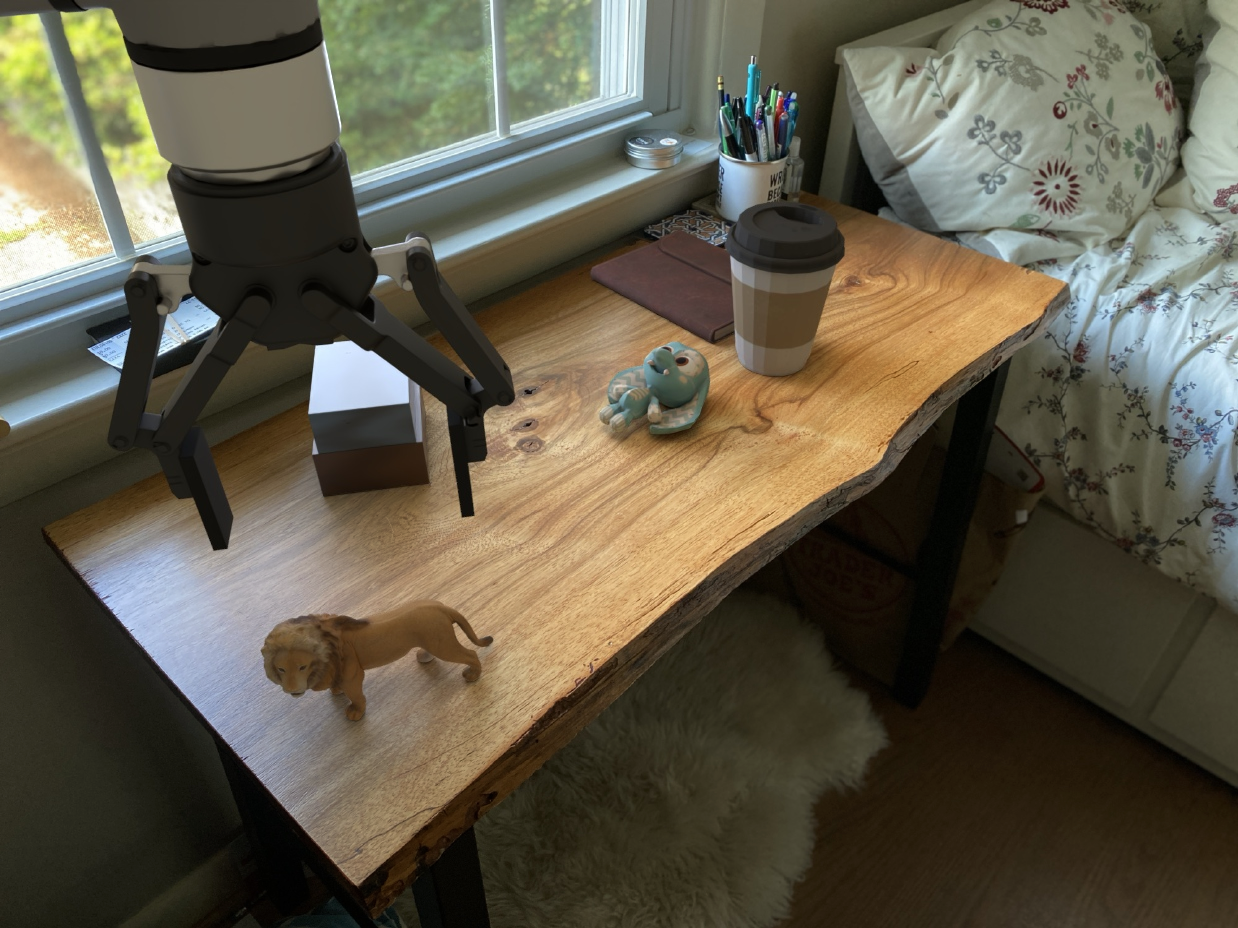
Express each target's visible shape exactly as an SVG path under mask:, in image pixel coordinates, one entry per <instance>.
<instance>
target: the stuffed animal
mask: <svg viewBox="0 0 1238 928" xmlns="http://www.w3.org/2000/svg"><path fill="white" fill-rule="evenodd" d="M710 376H711V375H710V367H709V362H708V360H707V359H706V357H705V356H704V355H703V354H702V353H701V352H700V351H698V350H697V349H695V348H692V347H691V346H688V345H686V344H684V343H682V342H680V341H673V340H672V341H670V342H668V343H667V344H664V345H661V346H658V347H655V348H653V349H652V350H651V351H650V352H649V353H648V354H647V355H646V356H645V358H644V359H643V364H641V365H637V366H631V367H628V368H626V369H623V370H621V371H619V372H617V373H616V374H615V375H614V377H612V379H611V380H610V381H609V383H608V388H607V391H606V395H607V399H608V403H609V404H607V405H606V406H604V407H602V408H601V409H600V410H599V412H598V418H599V420H600V422H601V423H602V424H604V425H606V426H608V425H609V426H610V429H611V430H612V431H613V432H616V433H619V434H620V433H621V432H624V431H625V430H626V429H627V428H628V427H629V425H630V424H631V423H632V421H633V420H638V419H642V418H643V417H645V416H646V415H647V419H648V420H649V422H650V423H651V424H650V426H649V433H650V434H651V435H671V434H674V433H679V432H681V431H685V430H688V429H691V428H692V427H693V426H694V424H695V423H696V422H697V421H698V419H699V418H700V414H701V412H702V408H703V406H704V404H705V402H706V400H707V397H708V395H709V393H710V387H711V377H710ZM660 404H661V405H663V406H666V407H668V408H671V409H667V410H664V411H662V410H661V406H660Z"/></svg>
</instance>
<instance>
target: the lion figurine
mask: <svg viewBox="0 0 1238 928" xmlns="http://www.w3.org/2000/svg"><path fill="white" fill-rule="evenodd" d="M454 624H456V625H457V626H458V627H459V628H460V629H461V631H462V632H463V633H464V634H465V636H466V637H467V639H468V640H469V641H470V642H471V643H472V644H473V645H474V646H476V647H480V648H488V647H490V646H491V645H492V644H493V643H494V640H495V639H494V637H492V635H487V636H484V637H481V638H479V637H478V636H477V634H476V632H475V630H474V628H473V627H472V625H471V624H470V622H469V621H468V620H467V618H466V617H465V616H464V615H463V614H462V613H461V612H459V611H458V610H456V609H455V608H453V607H451V606H449V605H445V604H444V602H442V601H440V600H436V599H429V598H427V599H426V598H419V599H414V600H410V601H409V602H407V603H404V604H402V605H400V606H399V607H396V608H393V609H391V610H388V611H385V612H381V613H378V614H373V615H369V616H366V617H362V618H358V619H356V618H354V617H352V616H348V615H345V614H340V615H338V614H336V613H332V614H330V613H324V612H323V613H322V614H320V613H316V614H314V613H309V614H307V615H299V616H298V617H291V618H288V619H287V620H284V621H281V622H279V623H277V624H276V625H275V626H274V627H273V628H272V629H271V631H269V632H268V635H267V636H266V637H265V639H264V643H263V646H262V647H261V648H260V650H259V651H260V652H261V653H260V654H261V656H262V658H263V669H264V671H265V676H266V678H267V679H268V680H269V681H271V682H272V683H273V684H275V685H277V686H280V687H281V689H282V692H283V693H285V694H288V695H291V697H292V698H296V699H299V698H301V697H303V696H304V695H305V693H306V691H308V690H312V691H313V692H321V691H328V690H329V691H330V693H331V694H332V695H334V696H336V695H340V694H344V695H345V696H346V698H347V699H348V700H349V701H350V702H351V703H350V704H348V705H347V706H346V708H345V712H344V716H345V718H346V719H348V720H350V721H359V720H361V718H362V717H363V716H364V714H365V712H366V709H367V704H366V703H367V697H366V696H365V694H364V690H363V687H364V686H363V685H364V681H365V675H366V673H365V671H367V670H374V669H376V668H377V669H378V668H381V667H384V666H387V665H390V664H392V663H394V662H396V661H398V660H400V659H402V658H404V657H405V656H407V655H408V654H409V653H410V652H411V651H412V650H413V649H416V648H420V649H418V650H417V651H416V660H417V661H418V662H419V663H428V662H430V661H431V662H432V660H433V659H434V658H437V659H438V660H441V661H444V662H446V663H447V662H448V663H451V664H452V663H454V664H458V665H459V664H461V665H465V667H464V668H463V670H462V673H461V676H462V677H463V678H464V679H465V680H466V681H468V682H474V681H476V680H478V679H479V678H480V677H481V675H482V663H481V661H480V659H479V656H478V653H477V652H476V651H475V650H474V649H469V648H466V647H465V646H464V645H463V644H461V643H460V641H459V640H458V638H457V635H456V632H455V627H454Z"/></svg>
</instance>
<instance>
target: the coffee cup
mask: <svg viewBox="0 0 1238 928" xmlns="http://www.w3.org/2000/svg"><path fill="white" fill-rule="evenodd" d="M845 243H846V239H845V236H844V235H843V233H842V231H840V229H839V228H838V222H837V220H836V218H835V216H833V215H832V214H830V213H829V212H827V211H826V210H825V209H822V208H819V207H817V206H815V205H812V204H807V203H803V202H796V201H768V202H764V203H763V202H762V203H757V204H755V205H752V206H750V207H747V208H745V209H744V210H743V211H742V212H741V213H740V214H739V215H738V219H737V221H735V223H733V224H732V225H730V227H729V228H728V231H727V235H726V239H725V243H724V248H725V250H727V252H728V254H729V255H730V257H731V274H732V292H733V309H734V326H735V333H734V342H735V351H736V353H737V358H738V361H739V363H740V364H741V365H742V366H743V367H744V368H745V369H746V370H748V371H750V372H752V373H755V374H759V375H761V376H766V377H767V376H768V377H785V376H791V375H794V374H796V373H798V372H799V371H801V370H803V368H804V367H805V366H806V365H807V360H808V359H809V358H810V356H811V353H812V350H813V345H814V342H815V339H816V336H817V332H818V328H819V326H820V322H821V318H822V315H823V311H824V308H825V306H826V303H827V299H828V295H829V292H830V287H831V285H832V281H833V278H834V275H835V271H836V267H837V265H838V264H839V263H840V262H841V261H842V260H843V259H844V258H845V255H846V247H845V245H846V244H845Z"/></svg>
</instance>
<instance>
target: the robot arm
mask: <svg viewBox="0 0 1238 928" xmlns="http://www.w3.org/2000/svg"><path fill="white" fill-rule="evenodd" d="M98 9H109V10H110V11H111V12H112V13H113V16H114V19H115V21H116V22H117V25H118V27H119V29H120V32H121V33H122V40H123V43H124V46H125V49H126V53H127V56H128V58H129V61H130V64H131V67H132V70H133V74H134V76H135V80H136V84H137V88H138V90H139V94H140V97H141V101H142V103H143V107H144V110H145V113H146V116H147V117H146V118H147V120H148V123H149V126H150V130H151V133H152V136H153V137H152V138H153V139H154V140H153V141H154V143H155V146H156V151H157V152H158V154H159V156H160V157H162V159H164V160H166V161H167V162H168V163H170V166H169V169H168V170H167V173H166V180H167V184H168V186H169V190H170V193H171V195H172V198H173V202H174V206H175V208H176V211H177V214H178V217H179V221H180V224H181V227H182V230H183V233H184V236H185V237H184V238H185V240H186V244H187V246H188V249H189V253H190V254H191V264H182V265H181V264H162V262H161V261H160V259H158V258H157V257H155V256H153V255H151V254H142V255H140V256H138V257H137V258H136V259H135V260H134V263H133V265H132V267H131V269H130V271H129V274H128V276H127V278H126V280H125V282H124V284H123V293H124V298H125V301H126V306H127V309H128V315H129V318H130V323H131V324H130V330H129V333H128V339H127V343H126V347H125V348H126V349H125V353H124V357H123V362H122V367H121V371H120V377H119V382H118V386H117V391H116V394H115V395H116V396H115V400H114V405H113V410H112V416H111V419H110V424H109V429H108V434H107V439H106V441H107V444H108V446H109V447H110V448H111V449H113V450H116V451H118V452H127V451H129V450H131V449H133V448H139V449H145V450H148V451H151V452H152V453H153V454H154V455H155V456H156V457H157V459H158V462H159V464H160V467H161V469H162V471H163V475H164V476H165V477H164V478H165V479H166V482H167V484H168V487H169V489H170V492H171V493H172V495H174V497H175V498H176V499H178V500H187V499H193V502H194V505H195V507H196V509H197V512H198V515H199V517H200V520H201V522H202V525H203V528H204V530H205V532H206V536H207V538H208V541H209V543H210V546H211V548H212V551H213V552H217V551H222V550H224V551H225V550H229V545H230V539H231V534H232V528H233V522H234V517H235V516H234V514H233V511H232V507H231V506H230V503H229V500H228V497H227V494H226V490H225V489H224V486H223V483H222V480H221V477H220V475H219V471H218V468H217V466H216V463H215V460H214V458H213V454H212V451H211V449H210V446H209V443H208V440H207V437H206V435H205V432H204V429H203V426H202V425H196V426H193V425H194V423H195V422H196V421H197V419H198V417H199V416H200V415H201V413H202V411H204V408H205V407H206V406H207V404H208V403H209V401H210V399H211V398H212V397H213V395H214V393H215V392H216V390H217V389H218V388H219V386H220V384H221V382H222V381H223V380H224V378H225V377H226V375H227V374H228V372H229V371H230V369H231V367H234V366H235V365H236V363H237V362H238V360H239V359H240V357H241V356H242V355H243V353H244V351H245V350H246V348H247V347H248V345H249V344H250V342H252V343H254V344H256V345H259V346H261V347H266V349H267V352H270V351H271V352H272V351H279V350H280V351H281V350H285V349H289V348H291V347H294V346H297V345H306V346H307V345H308V346H315V347H316V346H319V345H329V344H333V343H334V342H335V340H336V339H338V338H340V337H342V336H344V337H345V338H347V339H349V341H352V342H354V343H355V344H356V345H358V346H359V347H360V348H362V349H363V350H365V351H373V352H374V353H376V354H377V355H378V356H380V357H381V358H383V359H384V360H385V361H387V362H388V363H389V364H391V365H392V366H393V367H395V368H396V369H397V370H399V371H400V372H401V373H403V374H404V375H405V376H407V377H408V378H410V379H411V380H412V381H414V382H415V383H416V384H418V385H419V386H420V387H422V390H424V391H426V392H427V393H428V394H430V395H431V396H432V397H434V398H435V399H436V400H438V401H439V402H441V403H442V404H443V405H445V409H446V420H447V429H448V435H449V443H450V448H451V456H452V462H453V469H454V470H453V471H454V476H455V483H456V490H457V496H458V503H459V511H460V516H461V517H460V518H461V519H464V518H471V517H475V516H476V515H475V506H474V497H473V490H472V489H473V488H472V481H471V474H470V466H469V464H471V463H479V462H485V461H486V459H487V456H488V455H489V453H488V445H487V435H486V429H485V427H486V426H485V414H486V412H487V411H489V409H491V408H493V407H495V406H499V407H509V406H511V405H512V404H513V403H514V402H515V401H516V391H515V385H514V381H513V375H512V370H511V368H510V366H509V365H508V364H507V362H506V361H505V359H504V358H503V357H502V356H501V354H500V353H499V352H498V350H497V349H496V347H495V345H493V343H492V342H491V340H490V339H489V338H488V336H487V335H486V333H485V332H484V331H483V330H482V328H481V327H480V326H479V324H478V323H477V321H476V320H475V318H474V317H473V316H472V314H471V313H470V312H469V310H468V309H467V308H466V306H465V305H464V304H463V302H462V300H460V298H459V296H457V294H456V293H455V291H454V290H453V289H452V287H451V285H450V284H449V283H448V282H447V280H446V279H445V278H444V276H443V274H442V273H441V272H440V270H439V268H438V264H437V261H436V257H435V253H434V249H433V246H432V245H433V244H432V242H431V238H430V237H429V234H427V233H426V232H424V231H421V230H414V231H411V232H409V233H408V234H407V235H406V237H405V239H404V240H405V242H401V243H396V244H390V245H385V246H379V247H376V248H373V247H372V246H371V244H369V242H368V241H367V239H366V238H365V236H364V234H363V231H362V228H361V222H360V218H359V212H358V207H357V202H356V197H355V193H354V185H353V181H352V176H351V171H350V165H349V164H350V163H349V159H348V155H347V152H346V150H345V149H344V148H343V146H341V145H340V144H339V143H338V142H336V141H337V140H338V139H339V137H340V136H341V134H342V122H341V117H340V113H339V112H340V111H339V106H338V102H337V97H336V91H335V87H334V82H333V81H334V80H333V76H332V72H331V71H332V70H331V66H330V61H329V56H328V51H327V46H326V40H325V37H324V34H323V29H322V24H321V19H320V12H319V7H318V0H0V18H4V17H5V18H6V17H16V16H27V15H39V14H49V13H51V14H52V13H53V14H54V13H65V14H66V13H67V14H70V13H81V12H83V13H84V12H87V11H89V10H98ZM379 276H385V277H386V276H387V277H389V278H391V279H392V280H393V281H394V283H395V284H396V286H397V287H398V288H399V289H401V290H403V291H405V292H412V291H413V293H414V295H415V298H416V300H417V302H418V304H419V306H420V307H421V309H422V311H424V313H425V315H426V316H427V317H428V318H429V320H430V321H431V322H432V324H433V325H434V326H435V328H436V329H437V330H438V332H440V334H441V335H442V337H444V339H445V341H446V342H447V343H448V345H450V347H451V348H452V349H453V351H454V352H455V354H456V355H457V356H458V357H459V359H460V360H461V361H462V362H463V364H464V365H465V367H466V368H467V369H468V370H469V372H470V373H471V374H469V373H468V372H466V371H465V370H464V368H462V367H461V366H459V365H458V364H457V363H455V362H454V361H452V360H451V359H450V358H448V356H446V355H445V354H444V353H442V352H441V351H439V349H437V348H436V347H435V346H433V345H432V344H431V343H430V342H429V341H427V340H425V338H423V337H422V336H421V335H420V334H418V333H417V332H415V331H414V330H413V329H412V328H410V327H409V326H408V325H407V324H405V323H404V322H403V321H402V320H400V319H399V318H397V317H396V316H395V315H393V313H391V312H390V311H389V310H388V309H387V307H386V305H385V304H384V302H382V301H381V299H379V298H378V297H377V296H375V294H373V293H371V292H372V290H373V288H374V287H375V285H376V283H377V280H378V277H379ZM190 294H192V295H193V296H194V298H195V299H196V300H197V301H198V302H200V303H201V304H202V305H203V306H205V307H206V308H207V309H209V310H210V311H211V312H212V313H213V314H215V315H216V316H217V317H218V319H217V322H216V324H215V325H214V326H215V327H214V328H213V330H212V332H211V333H210V335H209V336H208V338H207V340H206V341H205V343H204V345H203V346H202V347H201V349H200V350H199V352H198V354H197V355H196V357H195V358H194V360H193V362H192V363H191V364H190V366H189V368H188V369H187V370H186V372H185V374H184V376H183V377H182V378H181V380H180V382H179V383H178V385H177V386H176V388H175V390H174V392H173V393H172V395H171V396H170V398H169V400H168V401H167V403H165V406H162V407H161V410H160V411H159V414H157V413H151V412H145V411H146V408H147V403H148V399H149V394H150V390H151V386H152V381H153V379H154V378H153V377H154V373H155V369H156V365H157V361H158V357H159V352H160V348H161V344H162V339H163V334H164V331H165V326H166V321H167V317H168V315H170V314H171V315H172V314H174V313H176V312H177V311H178V310H179V308H180V305H181V302H182V299H183V297H184V296H186V295H190Z"/></svg>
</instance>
